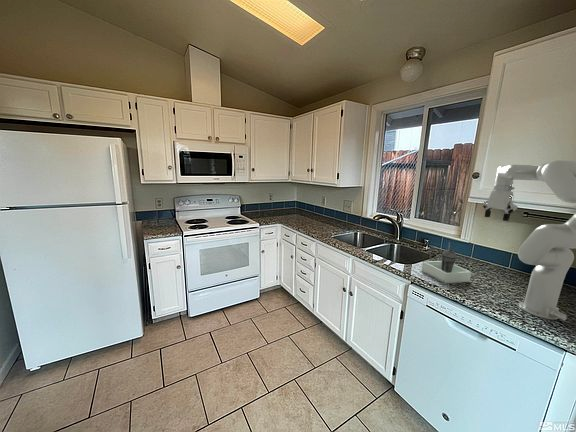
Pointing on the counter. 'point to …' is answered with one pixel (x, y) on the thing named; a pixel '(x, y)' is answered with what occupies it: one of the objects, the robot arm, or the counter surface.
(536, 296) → the robot arm
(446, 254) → the beverage cup
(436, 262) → the bin
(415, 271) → the counter surface
